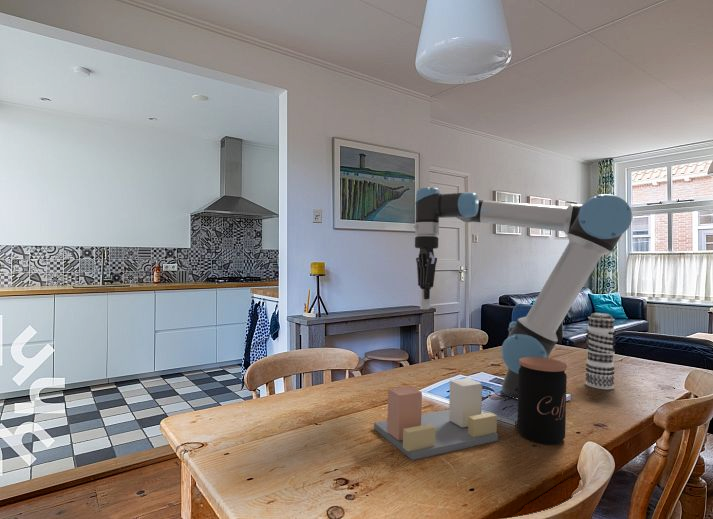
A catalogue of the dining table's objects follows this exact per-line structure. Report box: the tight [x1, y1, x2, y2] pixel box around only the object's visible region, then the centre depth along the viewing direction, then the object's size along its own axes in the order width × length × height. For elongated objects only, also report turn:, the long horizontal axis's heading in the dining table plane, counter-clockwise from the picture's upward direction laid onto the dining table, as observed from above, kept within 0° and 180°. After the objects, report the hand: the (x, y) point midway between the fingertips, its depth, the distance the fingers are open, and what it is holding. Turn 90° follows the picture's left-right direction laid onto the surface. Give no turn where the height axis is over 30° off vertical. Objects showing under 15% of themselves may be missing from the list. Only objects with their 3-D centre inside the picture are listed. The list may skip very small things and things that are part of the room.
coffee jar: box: [516, 357, 568, 445], centre depth 97 cm, size 11×11×18 cm
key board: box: [373, 409, 499, 461], centre depth 97 cm, size 17×25×6 cm
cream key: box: [448, 377, 483, 428], centre depth 100 cm, size 5×6×10 cm
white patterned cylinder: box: [585, 312, 617, 390], centre depth 139 cm, size 9×9×25 cm
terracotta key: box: [387, 385, 423, 441], centre depth 92 cm, size 5×6×10 cm
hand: (424, 308), depth 130 cm, fingers closed
